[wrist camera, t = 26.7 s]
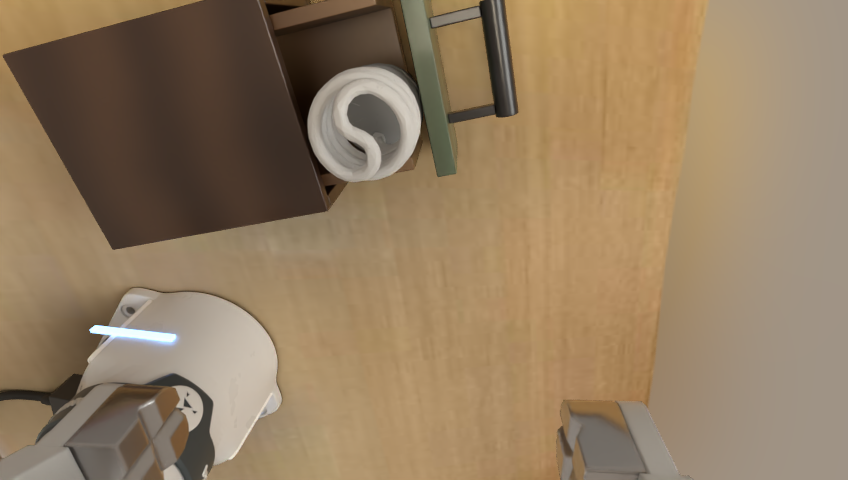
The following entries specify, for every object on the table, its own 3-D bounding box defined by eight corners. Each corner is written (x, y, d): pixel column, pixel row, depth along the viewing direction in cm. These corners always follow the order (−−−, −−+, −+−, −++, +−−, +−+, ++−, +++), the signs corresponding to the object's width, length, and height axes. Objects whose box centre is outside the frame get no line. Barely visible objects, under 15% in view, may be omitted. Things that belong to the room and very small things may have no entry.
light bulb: (434, 133, 33) (422, 188, 22) (359, 142, 33) (311, 200, 23) (424, 50, 30) (404, 64, 19) (343, 62, 31) (281, 82, 20)
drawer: (491, -44, 29) (500, -63, 22) (514, 133, 33) (528, 160, 27) (223, 25, 32) (161, 27, 25) (279, 179, 36) (240, 214, 30)
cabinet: (308, -5, 31) (254, -14, 23) (357, 168, 36) (328, 211, 28) (112, 46, 34) (0, 54, 25) (185, 202, 39) (112, 250, 31)
